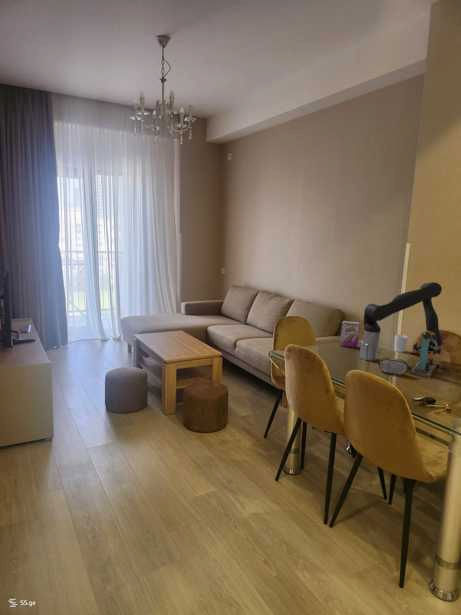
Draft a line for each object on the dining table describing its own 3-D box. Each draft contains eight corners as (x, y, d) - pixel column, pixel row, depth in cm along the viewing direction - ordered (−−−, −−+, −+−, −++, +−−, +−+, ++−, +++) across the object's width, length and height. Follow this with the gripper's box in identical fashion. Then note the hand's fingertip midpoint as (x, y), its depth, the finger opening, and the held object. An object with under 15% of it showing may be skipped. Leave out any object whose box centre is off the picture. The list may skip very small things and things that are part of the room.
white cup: (406, 350, 285) (408, 336, 283) (405, 353, 278) (407, 338, 276) (393, 348, 288) (395, 334, 286) (392, 351, 281) (394, 336, 279)
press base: (429, 377, 229) (431, 369, 229) (410, 373, 235) (411, 365, 234) (437, 364, 256) (438, 356, 256) (419, 360, 261) (420, 353, 261)
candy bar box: (339, 346, 285) (342, 322, 283) (339, 344, 290) (342, 320, 287) (357, 348, 283) (360, 323, 280) (356, 346, 288) (359, 322, 285)
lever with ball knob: (426, 373, 231) (432, 333, 227) (414, 371, 234) (420, 331, 230) (429, 368, 241) (435, 330, 237) (418, 366, 244) (423, 328, 240)
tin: (407, 375, 232) (409, 360, 230) (407, 376, 229) (409, 361, 227) (377, 370, 237) (379, 355, 235) (377, 372, 234) (379, 357, 232)
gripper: (417, 337, 254) (412, 342, 240) (443, 341, 246) (440, 347, 233) (415, 349, 255) (410, 355, 241) (441, 354, 248) (438, 360, 234)
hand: (425, 351), depth 237 cm, fingers open, 8 cm apart
